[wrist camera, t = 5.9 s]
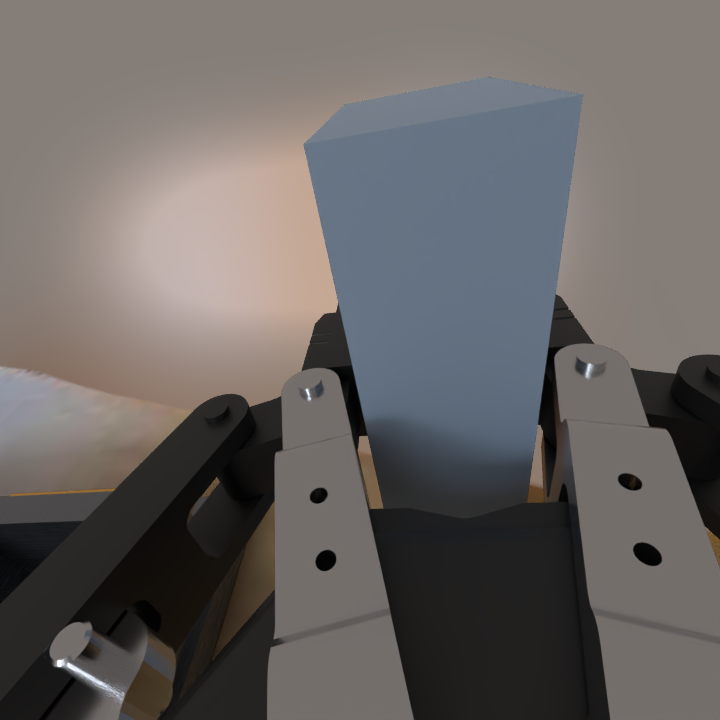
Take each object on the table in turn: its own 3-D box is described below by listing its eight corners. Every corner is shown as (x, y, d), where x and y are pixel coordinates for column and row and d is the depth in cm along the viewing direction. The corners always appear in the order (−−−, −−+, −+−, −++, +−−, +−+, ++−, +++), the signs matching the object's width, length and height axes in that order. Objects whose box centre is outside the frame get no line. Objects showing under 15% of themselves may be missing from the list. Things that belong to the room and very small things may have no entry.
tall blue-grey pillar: (411, 632, 13) (303, 144, 5) (406, 495, 17) (344, 105, 9) (509, 632, 12) (583, 94, 4) (480, 492, 16) (489, 77, 8)
